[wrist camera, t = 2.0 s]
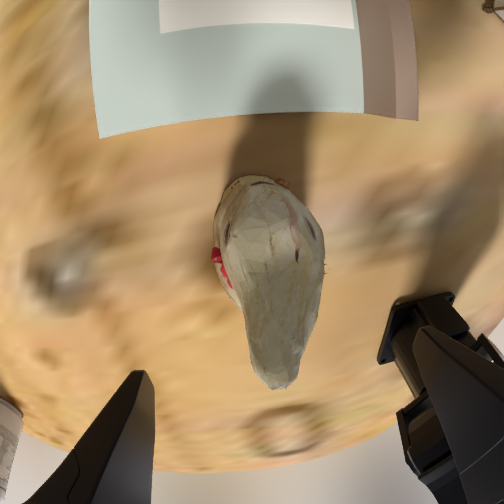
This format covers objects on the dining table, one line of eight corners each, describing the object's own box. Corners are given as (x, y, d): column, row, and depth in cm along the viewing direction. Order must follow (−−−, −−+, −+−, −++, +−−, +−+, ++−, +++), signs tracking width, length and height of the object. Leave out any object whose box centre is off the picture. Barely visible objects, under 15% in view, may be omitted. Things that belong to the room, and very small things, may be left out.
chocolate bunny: (330, 191, 15) (446, 306, 7) (268, 302, 19) (304, 449, 10) (235, 149, 14) (268, 238, 5) (183, 277, 17) (166, 436, 8)
